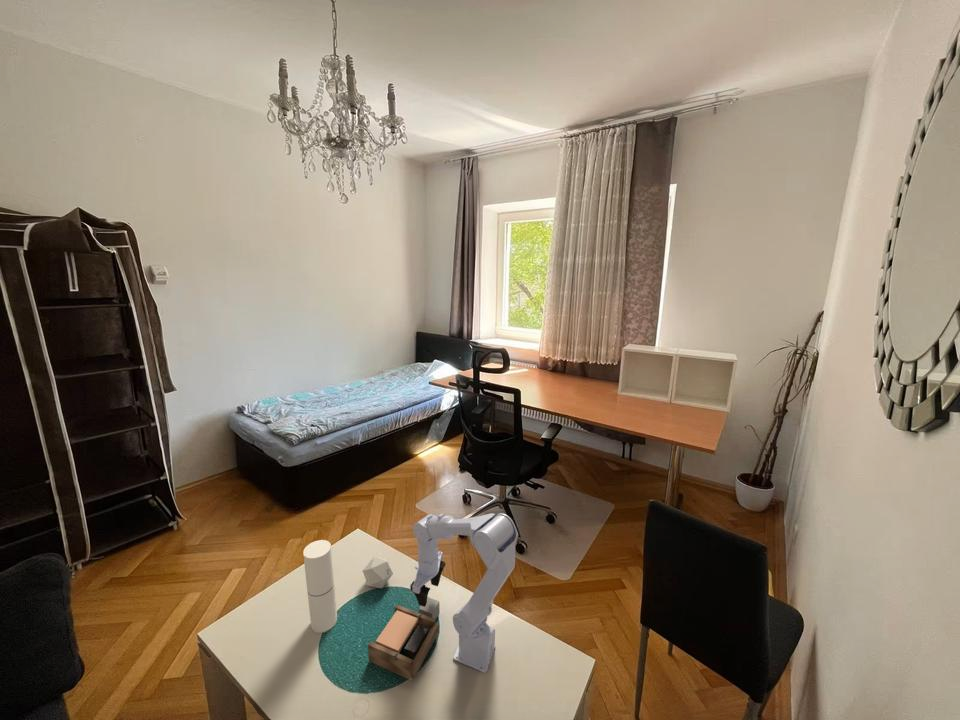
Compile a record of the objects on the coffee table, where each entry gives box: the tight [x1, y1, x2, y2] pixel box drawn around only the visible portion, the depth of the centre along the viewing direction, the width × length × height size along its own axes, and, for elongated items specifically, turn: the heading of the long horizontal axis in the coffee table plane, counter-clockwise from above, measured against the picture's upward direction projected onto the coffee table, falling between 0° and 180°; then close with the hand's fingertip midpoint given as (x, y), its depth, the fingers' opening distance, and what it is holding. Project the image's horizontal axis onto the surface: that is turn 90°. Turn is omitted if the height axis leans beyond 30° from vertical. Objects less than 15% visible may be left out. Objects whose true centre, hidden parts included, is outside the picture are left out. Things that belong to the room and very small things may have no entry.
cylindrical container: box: [302, 539, 338, 634], centre depth 107 cm, size 7×7×25 cm
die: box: [362, 556, 394, 589], centre depth 124 cm, size 8×9×10 cm
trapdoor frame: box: [367, 604, 440, 681], centre depth 102 cm, size 14×13×6 cm
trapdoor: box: [375, 610, 428, 659], centre depth 102 cm, size 11×10×2 cm
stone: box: [418, 596, 441, 620], centre depth 112 cm, size 4×4×4 cm
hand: (428, 594), depth 110 cm, fingers open, 7 cm apart
